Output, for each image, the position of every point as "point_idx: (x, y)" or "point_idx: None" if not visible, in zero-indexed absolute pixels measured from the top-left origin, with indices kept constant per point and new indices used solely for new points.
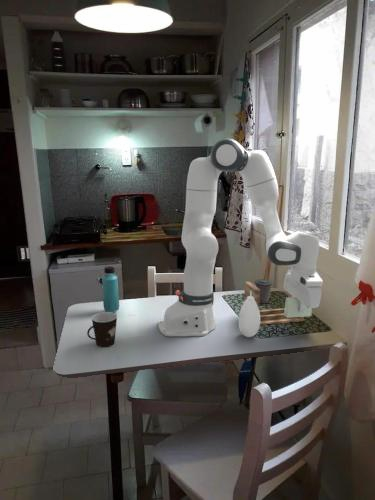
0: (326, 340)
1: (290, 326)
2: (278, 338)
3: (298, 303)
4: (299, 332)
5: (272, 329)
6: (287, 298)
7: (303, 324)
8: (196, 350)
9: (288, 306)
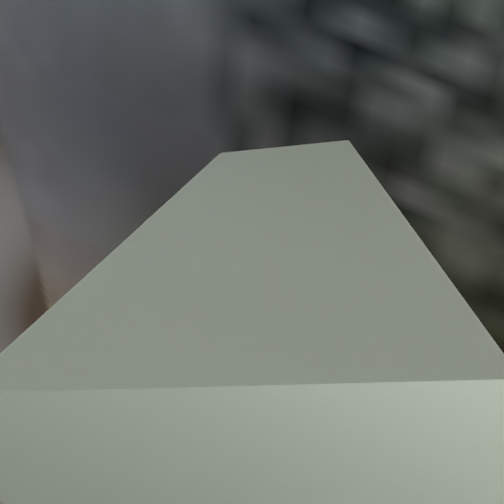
0: None
1: (440, 264)
2: (175, 5)
3: None
4: None
5: (415, 13)
6: (265, 403)
7: None
8: None
9: (145, 229)
